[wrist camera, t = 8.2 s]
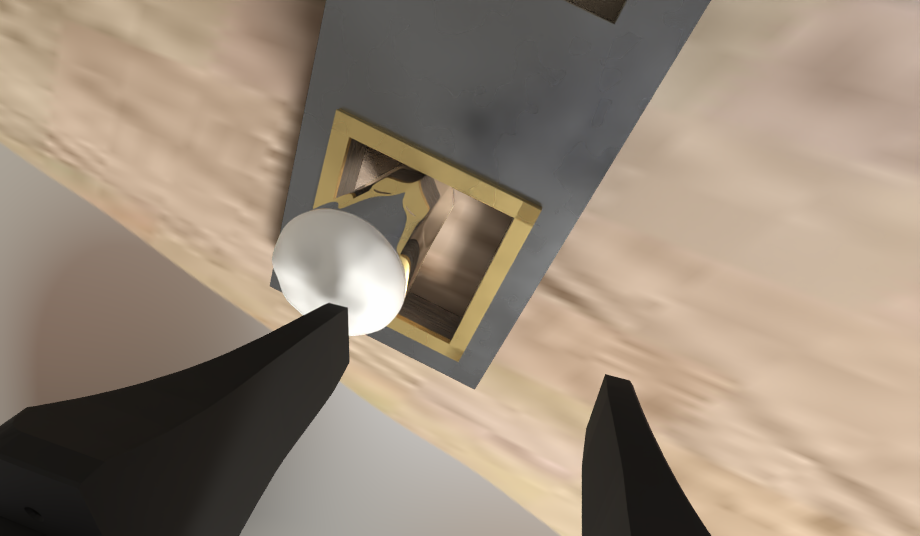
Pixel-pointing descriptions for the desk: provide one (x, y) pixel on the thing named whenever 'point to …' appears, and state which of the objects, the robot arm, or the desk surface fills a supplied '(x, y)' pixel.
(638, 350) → the desk surface
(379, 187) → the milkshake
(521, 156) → the grey board with holes
